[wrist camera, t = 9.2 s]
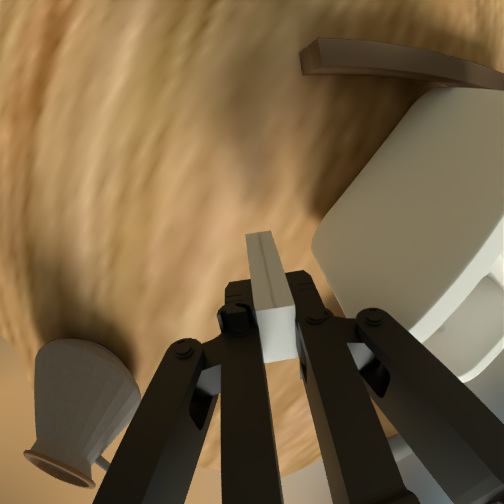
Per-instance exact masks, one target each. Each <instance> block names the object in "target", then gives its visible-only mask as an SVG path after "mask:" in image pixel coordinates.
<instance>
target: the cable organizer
mask: <svg viewBox="0 0 504 504" xmlns="http://www.w3.org/2000/svg"><path fill="white" fill-rule="evenodd" d="M311 250H312V253H313V255H314V257H315V259H316V260H317V262H318V264H319V266H320V268H321V270H322V272H323V274H324V276H325V277H326V279H327V281H328V283H329V285H330V287H331V289H332V291H333V293H334V295H335V297H336V299H337V301H338V303H339V304H340V306H341V308H342V310H343V312H344V314H345V316H346V318H356V316H357V314H358V312H360V311H361V310H363V309H366V308H379V309H382V310H384V311H386V312H387V313H388V314H390V315H391V316H392V317H393V318H394V319H395V320H396V321H397V322H398V323H400V324H401V325H402V326H403V327H404V328H405V329H406V330H407V331H408V332H410V333H411V334H412V335H413V336H414V337H415V338H416V339H417V340H418V341H419V342H420V343H421V344H423V345H424V346H425V347H426V348H427V349H428V350H429V351H430V352H431V353H432V354H433V355H434V356H435V357H436V358H438V359H439V360H440V361H441V362H442V363H443V364H444V365H445V366H446V367H447V368H448V369H449V370H450V371H451V372H452V373H453V374H454V375H455V376H456V377H457V378H458V379H459V380H460V381H461V382H462V383H464V382H467V381H469V380H471V379H473V378H474V377H475V376H477V375H478V374H479V373H480V372H481V371H483V370H484V369H485V368H486V366H488V365H489V364H490V363H491V362H492V360H493V359H494V358H495V357H496V356H497V355H498V354H499V353H500V352H501V351H502V350H503V349H504V91H500V90H490V89H478V88H460V87H438V88H434V89H432V90H430V91H428V92H427V93H425V94H424V95H422V96H421V97H420V98H419V99H418V100H417V101H416V102H415V103H414V104H413V105H412V106H411V107H410V109H409V110H408V111H407V113H406V114H405V115H404V117H403V118H402V119H401V121H400V122H399V123H398V125H397V126H396V127H395V128H394V130H393V131H392V132H391V134H390V135H389V136H388V138H387V139H386V140H385V141H384V143H383V144H382V145H381V147H380V148H379V149H378V150H377V152H376V153H375V154H374V156H373V157H372V158H371V159H370V161H369V162H368V163H367V164H366V166H365V167H364V168H363V169H362V171H361V172H360V173H359V175H358V176H357V177H356V178H355V180H354V181H353V182H352V183H351V184H350V186H349V187H348V188H347V189H346V191H345V192H344V193H343V194H342V196H341V197H340V198H339V199H338V201H337V202H336V203H335V204H334V205H333V207H332V208H331V209H330V210H329V212H328V213H327V214H326V215H325V217H324V218H323V219H322V221H321V222H320V224H319V226H318V227H317V229H316V231H315V234H314V236H313V239H312V243H311Z"/></svg>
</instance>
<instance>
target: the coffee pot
mask: <svg viewBox="0 0 504 504" xmlns="http://www.w3.org/2000/svg"><path fill="white" fill-rule="evenodd" d="M34 394H35V395H34V396H35V397H34V398H35V422H36V437H37V440H36V442H35V444H34V445H33V446H32V448H31V449H30V450H25V451H24V456H25V458H26V459H27V460H28V461H30V462H31V463H32V464H34V465H35V466H36V467H38V468H39V469H41V470H43V471H44V472H46V473H48V474H49V475H51V476H53V477H55V478H57V479H59V480H62V481H64V482H67V483H69V484H72V485H75V486H79V487H83V488H89V489H92V488H94V487H95V483H94V481H93V480H92V479H91V466H92V464H93V463H94V462H95V463H96V464H97V465H99V466H100V467H101V468H103V469H104V470H105V471H107V470H108V468H109V466H110V463H109V462H108V461H107V460H105V459H104V458H103V457H102V456H101V454H102V453H103V452H104V451H105V450H106V448H107V447H108V446H109V445H110V444H111V443H112V442H113V440H114V439H115V438H116V437H117V436H118V435H119V433H120V432H121V431H122V430H123V429H124V428H125V427H126V425H127V424H128V423H129V422H130V421H131V420H132V418H133V416H134V414H135V412H136V410H137V408H138V406H139V404H140V402H141V394H140V390H139V387H138V385H137V383H136V381H135V378H134V377H133V376H132V374H131V373H130V372H129V370H128V369H127V368H126V367H125V365H124V364H123V363H122V361H121V360H120V359H119V358H118V357H117V356H116V355H115V354H114V353H112V352H111V351H109V350H108V349H106V348H105V347H103V346H101V345H99V344H97V343H95V342H92V341H88V340H85V339H58V340H53V341H51V342H49V343H47V344H46V345H44V346H43V347H42V348H40V349H39V351H38V353H37V355H36V358H35V381H34Z"/></svg>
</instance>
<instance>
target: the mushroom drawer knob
mask: <svg viewBox="0 0 504 504" xmlns="http://www.w3.org/2000/svg"><path fill="white" fill-rule="evenodd" d="M370 398H371V397H370ZM371 400H372V398H371ZM372 403H373V405H374V408H375V410H376V413H377V415H378V417H379V420H380V422H381V425H382V427H383V430H384V433H385V435H386V438H387V440H388V443H389V445H390V448H391V451H392V453H393V456H394V459H395V461H396V462H397V461H399V460H401V459H403V458H404V457H406V456H408V455H409V454H410V453H412V452H413V451H412V449H411V448H410V447H409V446H408V444H407V443H406V442H405V440H404V439H403V438H402V437H401V435H400V434H399V433H398V431H397V430H396V429H395V428H394V426H393V425H392V424H391V423H390V421H389V420H388V419H387V417H386V416H385V415H384V414H383V412H382V411H381V410H380V408H379V407H378V406H377V405H376V403H375V402H374V401H373V400H372Z"/></svg>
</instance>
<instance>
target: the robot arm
mask: <svg viewBox="0 0 504 504" xmlns="http://www.w3.org/2000/svg"><path fill="white" fill-rule="evenodd" d="M245 237H246V245H247V253H248V261H249V269H250V277H251V279H248V280H241V281H234V282H229V284H228V285H227V287H226V288H225V305H224V306H222V307H221V308H220V309H219V310H218V313H217V318H218V322H219V326H220V329H221V334H220V335H219V336H218V337H216V338H215V339H213V340H210V341H208V342H205V343H202V344H201V343H200V342H199V341H198V340H196V339H192V338H184V339H181V340H178V341H176V342H174V343H173V344H171V345H170V347H169V348H168V349H167V351H166V353H165V355H164V357H163V359H162V361H161V363H160V365H159V367H158V369H157V370H156V372H155V374H154V376H153V378H152V380H151V382H150V384H149V386H148V388H147V390H146V392H145V394H144V396H143V398H142V400H141V402H140V404H139V406H138V408H137V410H136V412H135V414H134V416H133V418H132V420H131V422H130V424H129V426H128V428H127V430H126V433H125V435H124V437H123V439H122V441H121V443H120V445H119V447H118V449H117V451H116V453H115V456H114V458H113V460H112V462H111V464H110V466H109V468H108V470H107V473H106V475H105V477H104V479H103V481H102V483H101V486H100V488H99V490H98V492H97V495H96V496H95V499H94V501H93V503H92V504H184V502H185V499H186V496H187V493H188V490H189V487H190V484H191V481H192V477H193V474H194V471H195V468H196V465H197V462H198V459H199V456H200V453H201V450H202V446H203V443H204V440H205V437H206V434H207V431H208V428H209V424H210V421H211V418H212V415H213V412H214V408H215V405H216V402H217V399H218V394H219V393H221V486H222V504H284V502H283V494H282V486H281V480H280V472H279V465H278V458H277V450H276V443H275V436H274V428H273V421H272V414H271V406H270V399H269V392H268V384H267V377H266V370H265V364H264V363H269V362H275V361H281V360H287V359H293V358H298V356H299V359H300V379H303V382H304V386H305V390H306V394H307V398H308V402H309V406H310V410H311V414H312V418H313V422H314V426H315V430H316V434H317V438H318V442H319V446H320V450H321V455H322V459H323V463H324V467H325V471H326V476H327V480H328V484H329V488H330V492H331V497H332V501H333V504H420V502H419V500H418V498H417V497H416V495H415V494H414V493H413V492H411V491H409V490H407V488H406V487H405V485H404V483H403V480H402V478H401V475H400V472H399V470H398V467H397V464H396V461H395V459H394V456H393V453H392V451H391V448H390V445H389V443H388V440H387V438H386V435H385V433H384V430H383V427H382V425H381V422H380V420H379V417H378V415H377V413H376V410H375V408H374V405H373V403H372V400H373V401H374V402H375V403H376V405H377V406H378V407H379V408H380V410H381V411H382V412H383V414H384V415H385V416H386V417H387V419H388V420H389V421H390V423H391V424H392V425H393V426H394V428H395V429H396V430H397V431H398V433H399V434H400V435H401V437H402V438H403V439H404V440H405V442H406V443H407V444H408V446H409V447H410V448H411V449H412V451H413V452H414V453H415V454H416V456H417V457H418V458H419V459H420V461H421V462H422V463H423V465H424V466H425V467H426V469H427V470H428V471H429V472H430V474H431V475H432V476H433V478H434V479H435V480H436V481H437V483H438V484H439V485H440V486H441V488H442V489H443V490H444V492H445V493H446V494H447V495H448V497H449V498H450V499H451V501H452V502H453V503H454V504H504V424H503V423H502V422H501V421H500V420H499V419H498V418H497V417H496V416H495V415H494V414H493V413H492V412H491V411H490V410H489V409H488V408H487V407H486V406H485V405H484V404H483V403H482V402H481V401H480V399H478V397H476V396H475V394H474V393H472V391H471V390H469V389H468V387H466V386H465V385H464V384H463V383H462V382H461V381H460V380H459V379H458V378H457V377H456V376H455V375H454V374H453V373H452V372H451V371H450V370H449V369H448V368H447V367H446V366H445V365H444V364H443V363H442V362H441V361H440V360H439V359H438V358H436V357H435V356H434V355H433V354H432V353H431V352H430V351H429V350H428V349H427V348H426V347H425V346H424V345H423V344H421V343H420V342H419V341H418V340H417V339H416V338H415V337H414V336H413V335H412V334H411V333H410V332H408V331H407V330H406V329H405V328H404V327H403V326H402V325H401V324H400V323H398V322H397V321H396V320H395V319H394V318H393V317H392V316H391V315H390V314H388V313H387V312H386V311H384V310H382V309H379V308H366V309H363V310H361V311H360V312H358V314H357V316H356V318H340V317H336V316H334V314H333V313H332V312H331V311H330V310H328V309H327V308H325V306H324V304H323V302H322V300H321V297H320V295H319V293H318V291H317V289H316V286H315V284H314V282H313V280H312V278H311V275H309V274H308V273H307V272H305V271H304V270H301V271H294V272H288V273H285V272H284V269H283V266H282V263H281V260H280V257H279V254H278V251H277V248H276V245H275V242H274V239H273V236H272V233H271V231H265V232H258V233H251V234H245ZM370 397H371V398H372V400H371V398H370Z"/></svg>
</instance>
